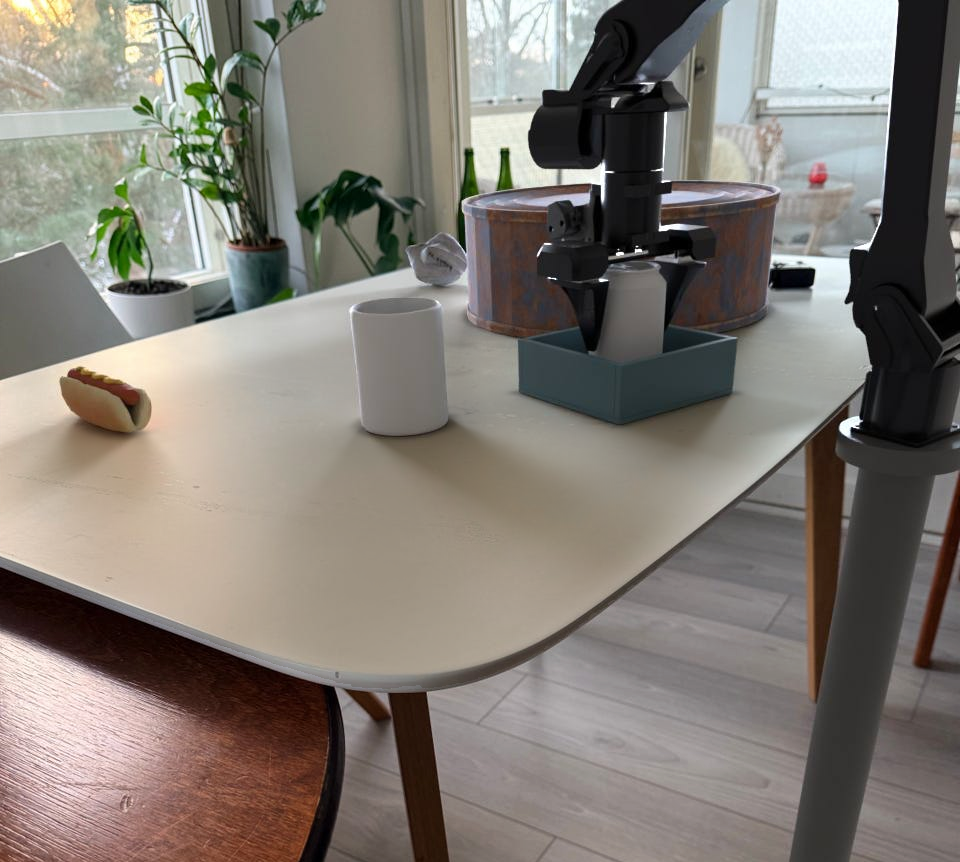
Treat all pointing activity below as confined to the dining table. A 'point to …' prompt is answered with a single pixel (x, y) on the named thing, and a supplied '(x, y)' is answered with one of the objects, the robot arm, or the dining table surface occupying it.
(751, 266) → the container
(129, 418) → the food
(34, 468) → the dining table surface
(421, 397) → the mug
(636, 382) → the box
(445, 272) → the crumpled paper ball
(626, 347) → the can
